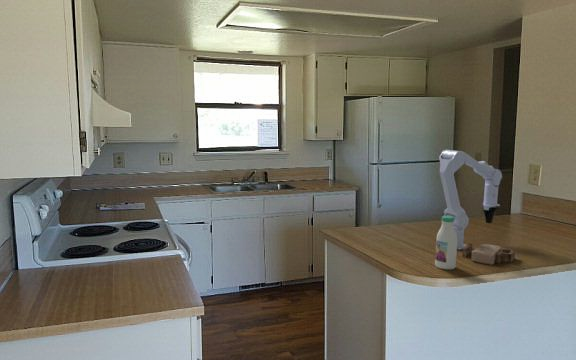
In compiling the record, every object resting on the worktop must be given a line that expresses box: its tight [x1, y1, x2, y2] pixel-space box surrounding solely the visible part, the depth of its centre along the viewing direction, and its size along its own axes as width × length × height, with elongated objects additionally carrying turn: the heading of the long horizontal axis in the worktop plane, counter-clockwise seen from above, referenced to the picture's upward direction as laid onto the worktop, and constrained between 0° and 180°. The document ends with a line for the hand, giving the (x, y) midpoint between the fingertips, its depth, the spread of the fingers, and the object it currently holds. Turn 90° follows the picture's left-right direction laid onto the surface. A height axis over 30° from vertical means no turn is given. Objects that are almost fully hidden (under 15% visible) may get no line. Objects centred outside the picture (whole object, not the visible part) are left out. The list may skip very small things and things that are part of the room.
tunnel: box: [461, 243, 516, 264], centre depth 186 cm, size 18×11×4 cm, turn 52°
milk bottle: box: [434, 215, 458, 270], centre depth 173 cm, size 8×8×20 cm
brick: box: [471, 243, 502, 266], centre depth 185 cm, size 17×8×5 cm, turn 144°
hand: (488, 222), depth 208 cm, fingers closed
